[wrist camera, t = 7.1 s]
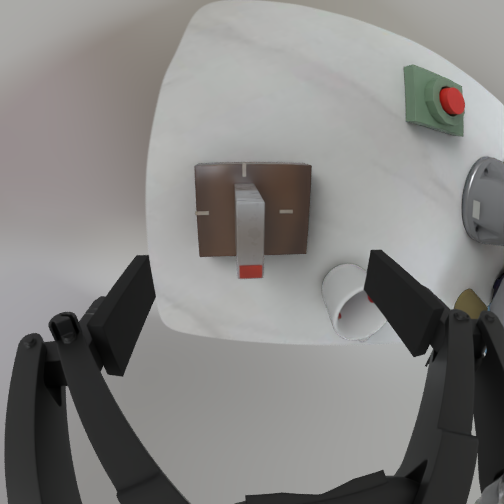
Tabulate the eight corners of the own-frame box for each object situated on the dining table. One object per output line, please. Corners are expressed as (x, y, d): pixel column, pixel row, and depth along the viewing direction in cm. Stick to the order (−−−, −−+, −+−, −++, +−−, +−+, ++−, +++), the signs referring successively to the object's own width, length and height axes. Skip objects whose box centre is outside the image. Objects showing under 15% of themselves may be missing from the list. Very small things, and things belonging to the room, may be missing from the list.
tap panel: (304, 162, 29) (312, 164, 26) (300, 245, 33) (306, 255, 30) (197, 162, 29) (193, 164, 26) (201, 247, 32) (198, 258, 30)
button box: (452, 87, 25) (470, 85, 22) (453, 135, 28) (471, 137, 25) (403, 67, 25) (420, 61, 21) (405, 121, 28) (423, 121, 24)
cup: (372, 306, 38) (396, 338, 31) (326, 327, 39) (343, 363, 32) (361, 246, 34) (391, 274, 27) (308, 269, 35) (327, 302, 27)
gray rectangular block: (234, 183, 27) (236, 203, 18) (254, 183, 27) (265, 202, 18) (235, 239, 29) (237, 281, 21) (253, 238, 29) (263, 280, 21)
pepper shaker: (450, 309, 41) (482, 341, 31) (467, 284, 39) (502, 313, 29) (460, 317, 43) (489, 348, 33) (476, 294, 41) (507, 322, 31)
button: (455, 92, 23) (464, 92, 21) (456, 117, 24) (465, 117, 22) (438, 84, 22) (446, 83, 21) (439, 110, 24) (448, 110, 22)
